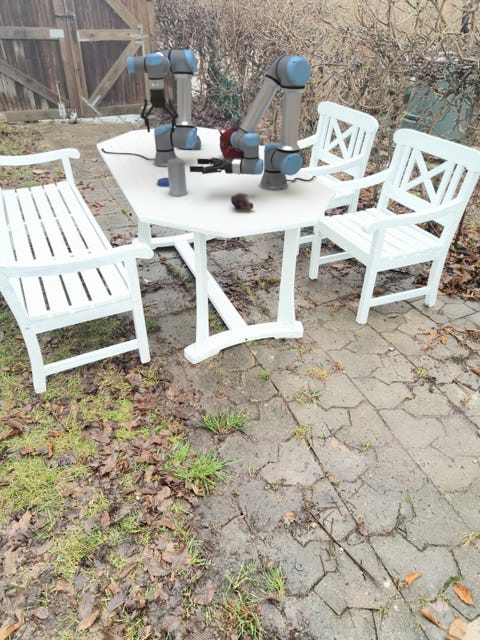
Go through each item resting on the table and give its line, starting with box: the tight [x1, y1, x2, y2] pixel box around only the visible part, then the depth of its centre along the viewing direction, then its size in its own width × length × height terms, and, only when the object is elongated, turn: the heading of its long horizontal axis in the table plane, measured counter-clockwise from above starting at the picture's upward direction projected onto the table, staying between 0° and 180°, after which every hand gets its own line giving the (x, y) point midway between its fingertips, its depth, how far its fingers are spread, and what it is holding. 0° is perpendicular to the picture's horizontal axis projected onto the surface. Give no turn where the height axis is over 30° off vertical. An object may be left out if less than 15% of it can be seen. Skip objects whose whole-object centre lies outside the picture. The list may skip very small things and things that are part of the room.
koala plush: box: [181, 120, 202, 151], centre depth 323 cm, size 17×18×20 cm
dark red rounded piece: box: [218, 126, 244, 160], centre depth 296 cm, size 21×24×25 cm
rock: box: [230, 192, 254, 211], centre depth 223 cm, size 12×9×10 cm
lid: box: [157, 177, 169, 187], centre depth 260 cm, size 10×10×2 cm
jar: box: [166, 158, 188, 197], centre depth 241 cm, size 9×9×18 cm
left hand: (161, 132), depth 244 cm, fingers open, 13 cm apart
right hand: (193, 165), depth 235 cm, fingers open, 13 cm apart
